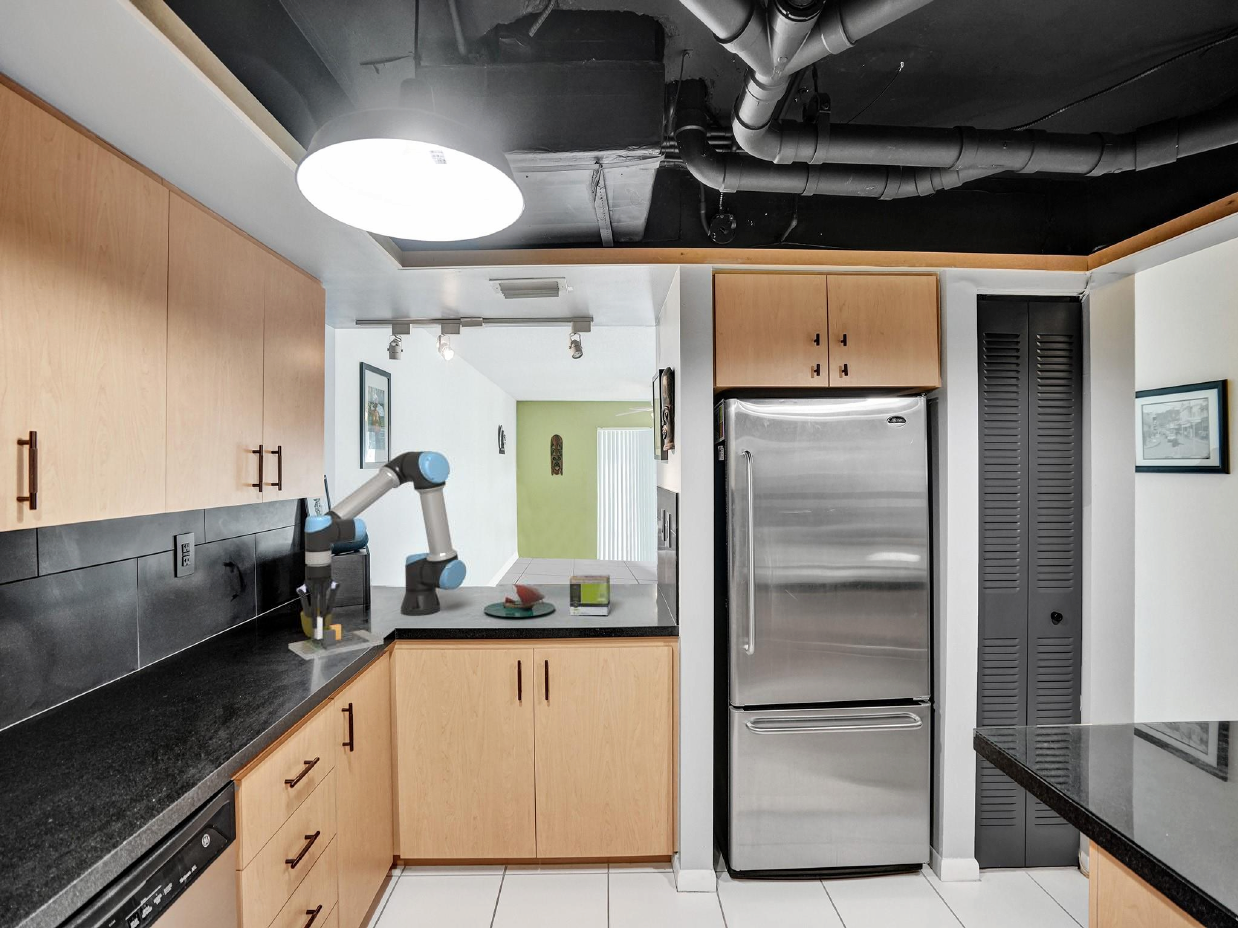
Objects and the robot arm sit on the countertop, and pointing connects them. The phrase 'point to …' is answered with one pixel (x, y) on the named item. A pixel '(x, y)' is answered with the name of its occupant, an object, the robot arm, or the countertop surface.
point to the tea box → (589, 594)
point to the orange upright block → (338, 630)
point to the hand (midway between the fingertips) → (318, 637)
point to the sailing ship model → (521, 604)
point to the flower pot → (307, 623)
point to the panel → (346, 643)
